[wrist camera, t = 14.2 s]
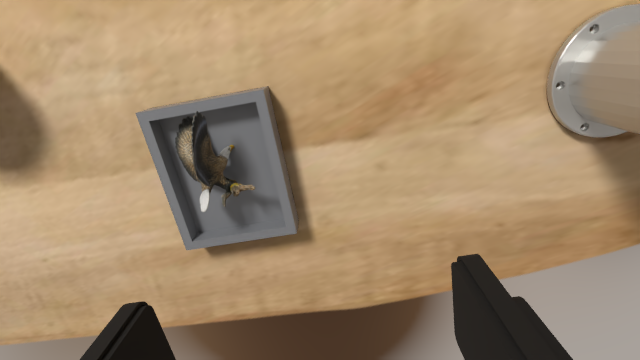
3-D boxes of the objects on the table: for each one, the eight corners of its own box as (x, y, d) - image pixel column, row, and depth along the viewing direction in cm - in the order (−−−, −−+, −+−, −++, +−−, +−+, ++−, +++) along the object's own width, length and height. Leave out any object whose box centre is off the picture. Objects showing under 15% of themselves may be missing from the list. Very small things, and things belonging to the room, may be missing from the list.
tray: (268, 86, 35) (263, 89, 33) (298, 220, 41) (296, 233, 38) (150, 108, 36) (135, 113, 34) (195, 236, 42) (186, 250, 39)
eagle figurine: (274, 162, 36) (214, 94, 32) (240, 213, 32) (165, 142, 28) (233, 175, 41) (177, 118, 37) (199, 221, 37) (130, 162, 33)
